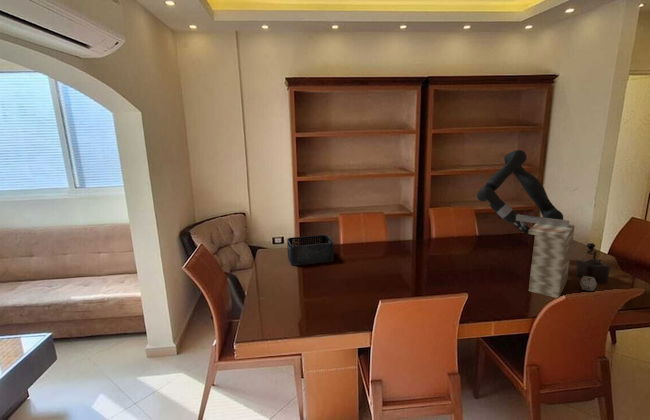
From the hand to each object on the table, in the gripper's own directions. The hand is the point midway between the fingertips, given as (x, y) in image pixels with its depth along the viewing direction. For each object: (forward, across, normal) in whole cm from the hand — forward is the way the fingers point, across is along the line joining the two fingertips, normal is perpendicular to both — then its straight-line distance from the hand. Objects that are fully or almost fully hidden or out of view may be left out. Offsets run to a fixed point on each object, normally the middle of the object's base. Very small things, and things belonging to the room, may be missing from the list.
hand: (530, 233), depth 198 cm
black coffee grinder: (+38, +7, -1) cm, 39 cm away
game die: (+36, -13, +1) cm, 39 cm away
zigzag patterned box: (+22, -17, +12) cm, 30 cm away
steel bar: (-2, -10, -10) cm, 14 cm away
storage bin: (-80, -41, +97) cm, 132 cm away
